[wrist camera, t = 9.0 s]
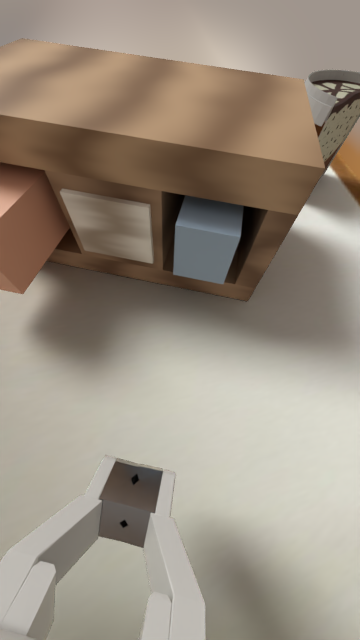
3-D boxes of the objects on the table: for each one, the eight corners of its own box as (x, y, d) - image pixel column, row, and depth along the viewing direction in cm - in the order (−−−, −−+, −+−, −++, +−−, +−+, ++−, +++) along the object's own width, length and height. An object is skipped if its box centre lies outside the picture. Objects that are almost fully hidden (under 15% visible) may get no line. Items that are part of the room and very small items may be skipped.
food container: (293, 155, 35) (335, 62, 27) (328, 172, 33) (385, 77, 25) (247, 181, 31) (280, 78, 22) (283, 202, 29) (334, 98, 20)
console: (8, 256, 22) (-129, 96, 12) (72, 179, 29) (21, 38, 19) (247, 304, 20) (326, 172, 10) (253, 211, 27) (303, 79, 17)
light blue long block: (173, 274, 17) (175, 225, 13) (197, 190, 23) (204, 138, 19) (223, 284, 17) (240, 237, 13) (235, 196, 23) (249, 145, 19)
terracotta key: (-30, 283, 16) (-95, 230, 12) (52, 190, 21) (26, 134, 18) (23, 294, 15) (-26, 244, 12) (90, 197, 21) (73, 142, 17)
